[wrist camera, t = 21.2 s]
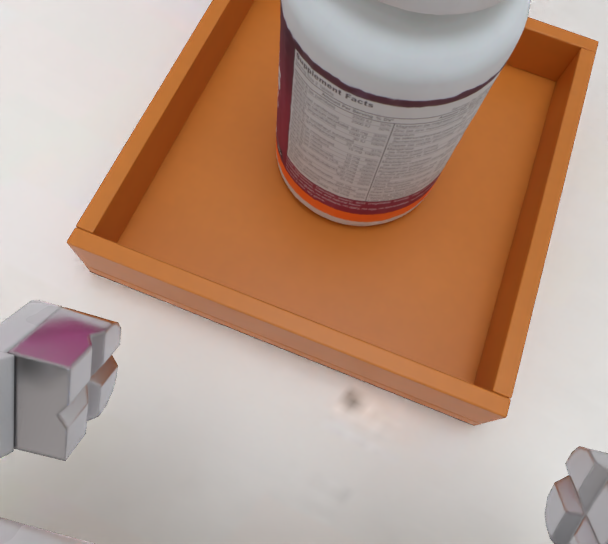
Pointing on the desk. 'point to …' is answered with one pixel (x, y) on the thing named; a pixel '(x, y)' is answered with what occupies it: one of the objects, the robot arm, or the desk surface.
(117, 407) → the desk surface
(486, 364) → the amber tray
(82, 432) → the robot arm
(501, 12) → the pill bottle
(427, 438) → the desk surface
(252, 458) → the desk surface
